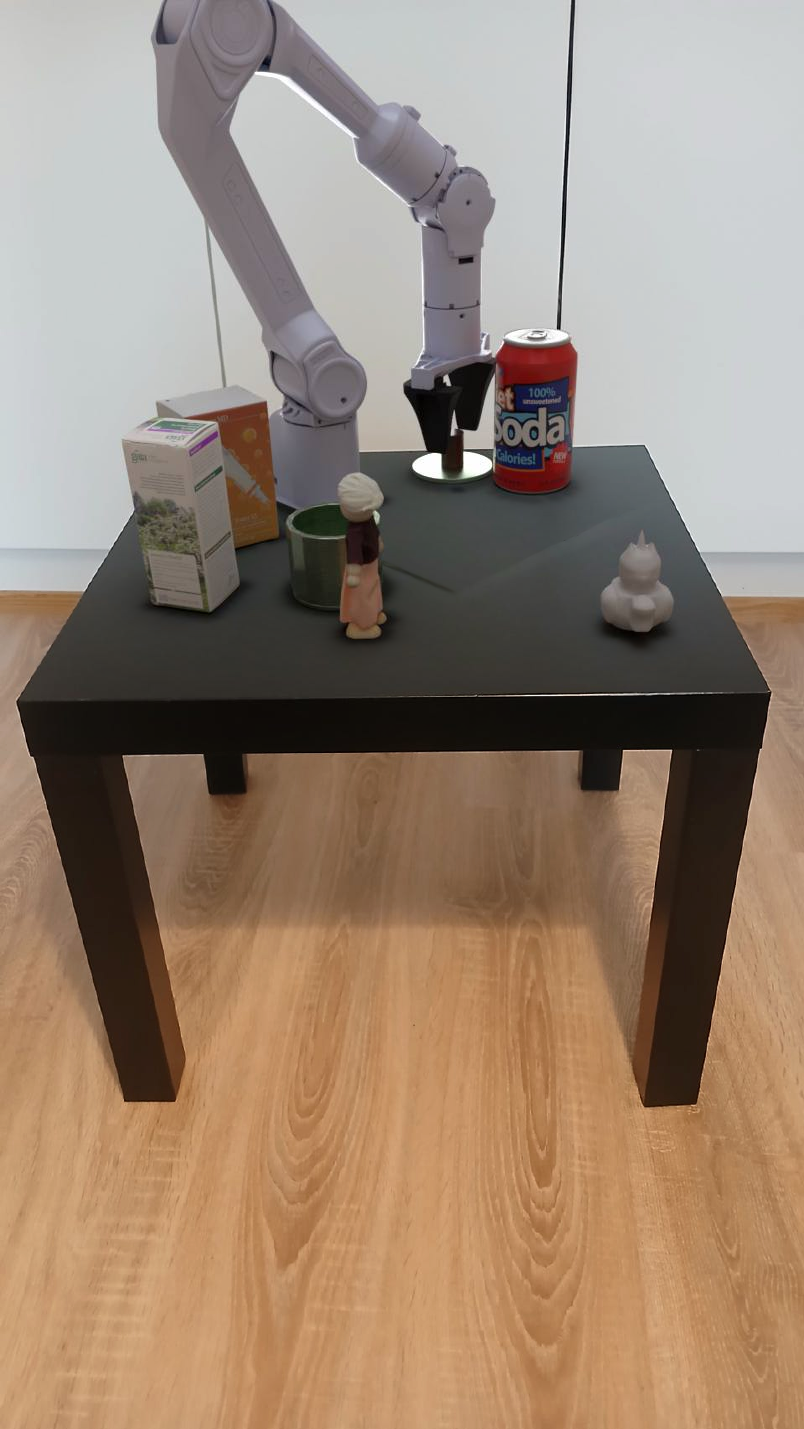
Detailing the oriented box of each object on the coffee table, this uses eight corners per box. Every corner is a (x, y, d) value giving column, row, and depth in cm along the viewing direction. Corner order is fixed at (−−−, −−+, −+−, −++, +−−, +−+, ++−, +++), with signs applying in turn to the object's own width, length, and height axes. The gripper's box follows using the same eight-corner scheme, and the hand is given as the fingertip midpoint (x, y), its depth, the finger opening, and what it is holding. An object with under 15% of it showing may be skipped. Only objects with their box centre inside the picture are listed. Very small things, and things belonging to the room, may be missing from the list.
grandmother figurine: (344, 606, 87) (334, 457, 80) (391, 606, 87) (385, 456, 80) (336, 653, 80) (325, 495, 73) (386, 653, 80) (380, 494, 73)
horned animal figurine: (661, 609, 85) (672, 516, 80) (677, 650, 79) (690, 552, 75) (593, 610, 85) (601, 517, 81) (605, 651, 79) (613, 553, 75)
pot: (274, 590, 90) (267, 520, 86) (342, 563, 94) (338, 494, 90) (332, 620, 85) (326, 546, 81) (401, 589, 89) (398, 518, 86)
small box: (202, 559, 95) (182, 417, 88) (174, 537, 100) (153, 399, 93) (282, 537, 99) (268, 398, 92) (251, 516, 103) (236, 382, 96)
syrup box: (242, 585, 91) (221, 417, 83) (210, 616, 86) (184, 442, 78) (183, 577, 92) (157, 412, 84) (148, 607, 88) (117, 436, 80)
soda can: (573, 474, 110) (582, 325, 102) (566, 503, 104) (575, 346, 96) (499, 471, 112) (502, 324, 104) (487, 498, 106) (489, 344, 97)
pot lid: (396, 475, 112) (394, 432, 109) (452, 455, 116) (451, 414, 114) (452, 495, 106) (452, 451, 104) (508, 473, 111) (510, 430, 109)
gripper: (458, 323, 95) (459, 468, 102) (518, 290, 106) (514, 423, 113) (389, 317, 98) (394, 459, 105) (454, 285, 108) (455, 416, 116)
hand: (452, 440), depth 109 cm, fingers open, 7 cm apart
